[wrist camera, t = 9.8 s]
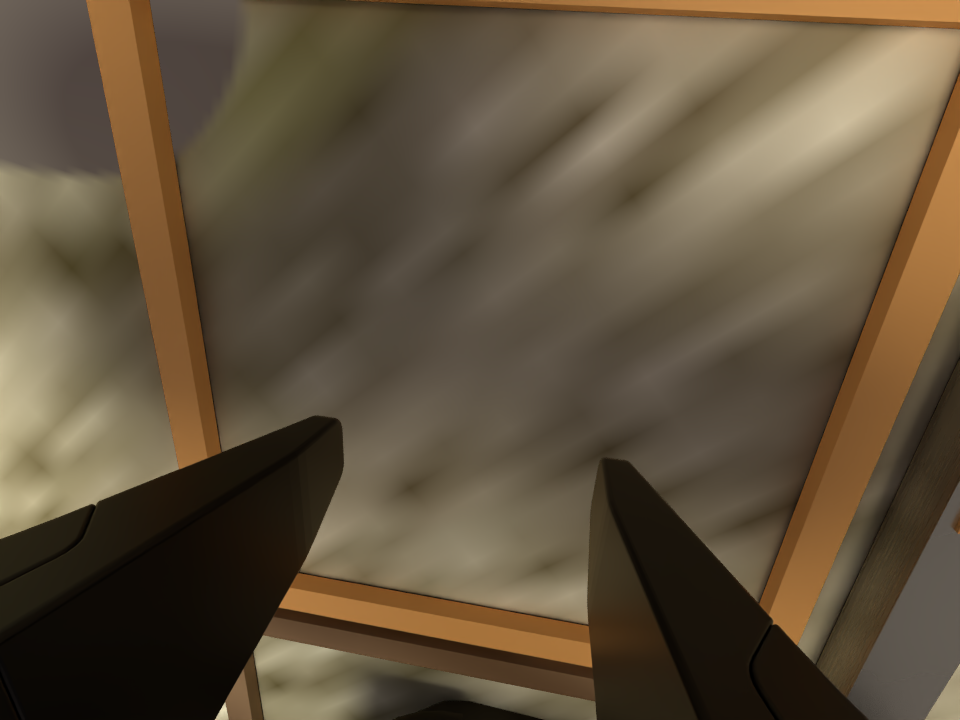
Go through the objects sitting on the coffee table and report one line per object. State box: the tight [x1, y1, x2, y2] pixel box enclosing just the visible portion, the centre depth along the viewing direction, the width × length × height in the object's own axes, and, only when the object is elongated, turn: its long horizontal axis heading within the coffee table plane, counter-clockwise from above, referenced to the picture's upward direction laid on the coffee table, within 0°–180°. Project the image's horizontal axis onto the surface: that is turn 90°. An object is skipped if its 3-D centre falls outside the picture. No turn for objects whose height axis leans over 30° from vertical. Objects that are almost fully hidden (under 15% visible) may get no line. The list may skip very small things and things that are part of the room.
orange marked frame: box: [86, 0, 960, 667], centre depth 11 cm, size 15×15×1 cm
